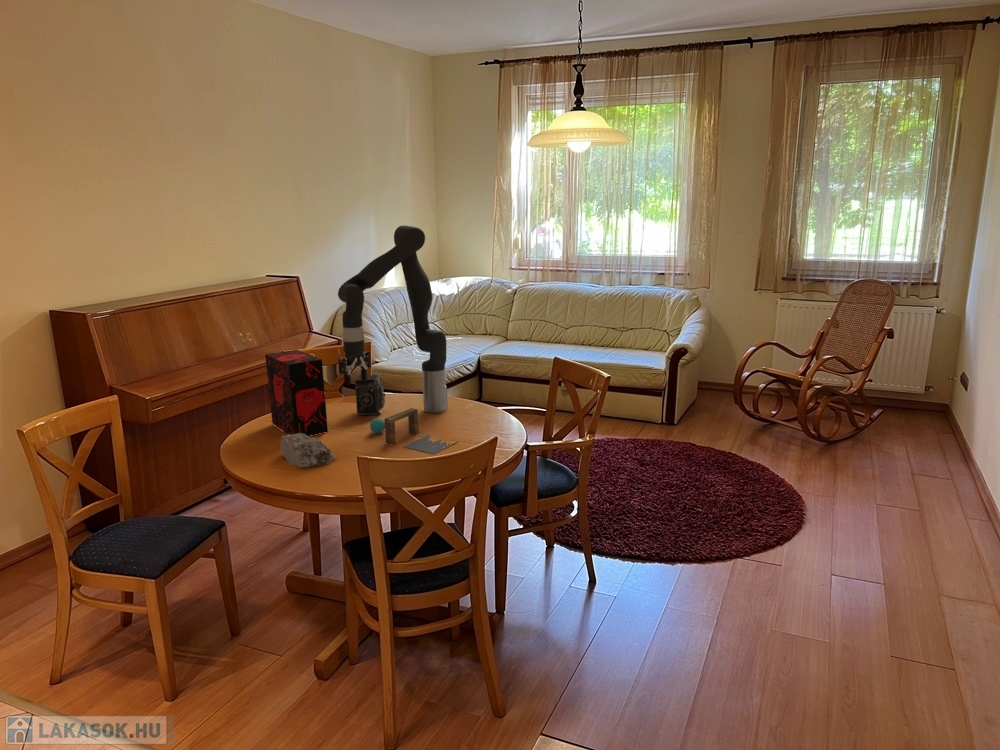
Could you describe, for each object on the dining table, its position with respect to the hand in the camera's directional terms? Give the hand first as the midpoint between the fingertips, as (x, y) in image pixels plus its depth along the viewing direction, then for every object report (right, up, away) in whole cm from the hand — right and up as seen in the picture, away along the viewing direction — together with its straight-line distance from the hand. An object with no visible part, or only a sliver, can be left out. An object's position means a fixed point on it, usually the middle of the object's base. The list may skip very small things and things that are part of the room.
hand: (356, 382), depth 258 cm
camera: (+1, -13, +25) cm, 28 cm away
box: (-23, -18, +7) cm, 30 cm away
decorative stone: (-11, -26, -25) cm, 38 cm away
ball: (+8, -16, -1) cm, 18 cm away
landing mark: (+29, -22, -14) cm, 39 cm away
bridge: (+18, -20, -7) cm, 28 cm away
